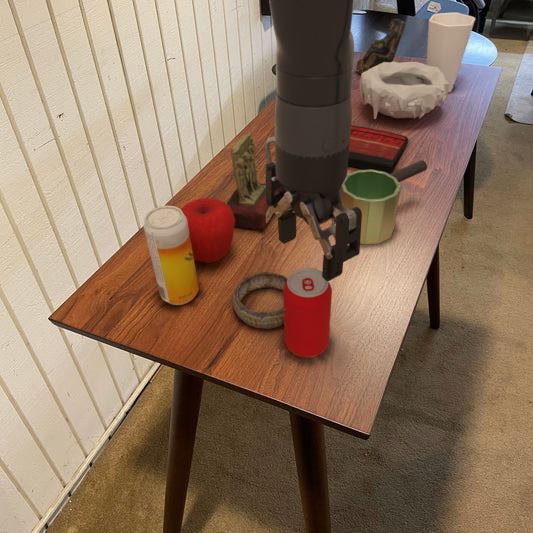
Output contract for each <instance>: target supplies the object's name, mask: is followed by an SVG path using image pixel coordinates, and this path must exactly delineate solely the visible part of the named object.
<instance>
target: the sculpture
mask: <svg viewBox="0 0 533 533" xmlns="http://www.w3.org/2000/svg"><path fill="white" fill-rule="evenodd" d="M256 151H257V148H256V142H255V141H254V137H253V136H252V133H247V134H245V135H243V136H242V137H241V138H240V139H239V140H238V141H237V142H236V143H235V144H234V145H233V146H232V147H231V148H230V157H231V164H232V169H233V175H234V180H235V185H236V189H235V190H234V191H233V193H232V194H231V196H230V198H229V199H228V201H227V202H226V204H228V205H229V206H230V208H231V210H232V212H233V215H234V218H235V226H234V227H239V228H247V229H254V230H256V229H258V230H265V228H266V226H267V224H268V223H269V222H270V220H271V218H272V216H273V214H275V213H274V209H275V208H274V207H273V206H271V207H269V206H268V205H267V203H266V183H262V182H261V183H260V182H259V180H258V175H257V171H258V170H257V168H256V161H255V158H256V153H255V152H256ZM277 193H279V189H277V190H275V192H274V194H277Z"/></svg>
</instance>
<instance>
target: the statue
mask: <svg viewBox="0 0 533 533" xmlns="http://www.w3.org/2000/svg"><path fill="white" fill-rule="evenodd" d="M387 27H388V29H389V30H388V31H387V33H386V34H385V36H383V38H381V39H374V40H373V43H372V44H371V45H370V46H369V48H368V49H367V51H366V52H365V55H364V56H363V58H360V59H359V60H357V61H356V69H355V70H356V73H359V74H362V73H363V72H365V71H368V70H369V69H371V68H373V67H374V66H377V65H379V64H381V63H383V62H389V63H390V62H394V59H395V56H396V54H397V51H398V47H399V44H400V41H401V40H402V36H403V33H404V31H405V27H406V23H405V22H404V21H403V20H402V19H400V18H393V19H391V20H390V22H389V24H388V26H387ZM357 70H359V71H357ZM362 71H363V72H362Z"/></svg>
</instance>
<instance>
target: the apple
mask: <svg viewBox="0 0 533 533" xmlns="http://www.w3.org/2000/svg"><path fill="white" fill-rule="evenodd" d="M180 209H181V210H182V212H183V214H184V215H185V216H186V218H187V222H188V228H189V234H190V240H191V246H192V251H193V257H194V261H197V262H201V263H205V264H212V263H215V262H218V261H220V260H221V259H223V258H224V257H226V256H227V254H228V253H229V252H230V248H231V246H232V242H233V238H234V232H235V227H236V226H235V218H234V215H233V212H232V210H231V208H230V206H229V205H228V204H227V202H224V201H223V200H220V199H217V198H212V197H200V198H196V199H193V200H190V201H189V202H187V203H186V204H184V205H183V206H182V207H181V208H180Z"/></svg>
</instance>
